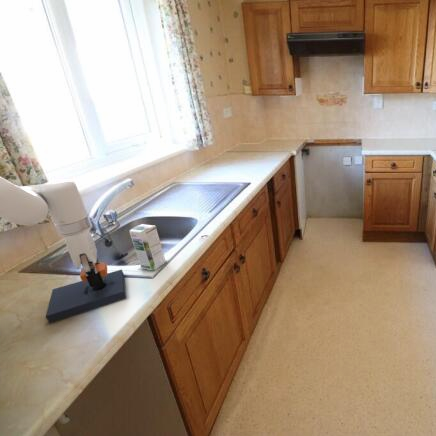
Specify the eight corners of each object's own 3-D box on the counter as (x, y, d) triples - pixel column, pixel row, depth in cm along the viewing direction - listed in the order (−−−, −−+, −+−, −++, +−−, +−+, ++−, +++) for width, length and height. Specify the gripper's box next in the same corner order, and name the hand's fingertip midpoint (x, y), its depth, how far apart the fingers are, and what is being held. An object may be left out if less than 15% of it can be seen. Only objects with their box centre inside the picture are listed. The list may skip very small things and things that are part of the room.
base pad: (49, 323, 86) (45, 316, 85) (55, 295, 97) (52, 289, 96) (126, 298, 94) (123, 291, 93) (124, 275, 105) (121, 269, 104)
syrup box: (140, 269, 108) (127, 230, 102) (153, 259, 113) (142, 222, 107) (154, 271, 107) (141, 232, 101) (167, 261, 112) (155, 224, 106)
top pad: (85, 289, 92) (79, 276, 90) (86, 280, 96) (81, 268, 94) (110, 281, 95) (104, 269, 93) (110, 273, 99) (105, 261, 97)
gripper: (60, 218, 92) (84, 271, 100) (52, 241, 79) (80, 300, 87) (91, 211, 96) (112, 263, 103) (89, 233, 82) (112, 290, 90)
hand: (97, 279), depth 95 cm, fingers closed on top pad, 5 cm apart
